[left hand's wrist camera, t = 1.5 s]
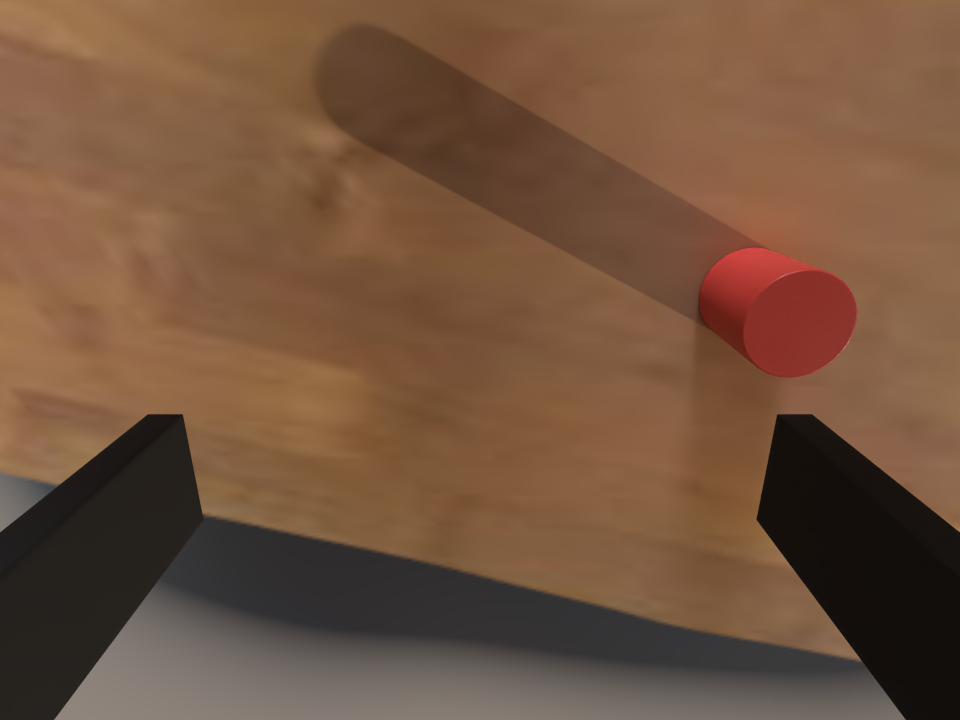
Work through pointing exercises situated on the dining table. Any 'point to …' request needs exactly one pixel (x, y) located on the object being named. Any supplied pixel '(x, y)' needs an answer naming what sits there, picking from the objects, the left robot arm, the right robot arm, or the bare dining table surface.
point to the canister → (778, 311)
